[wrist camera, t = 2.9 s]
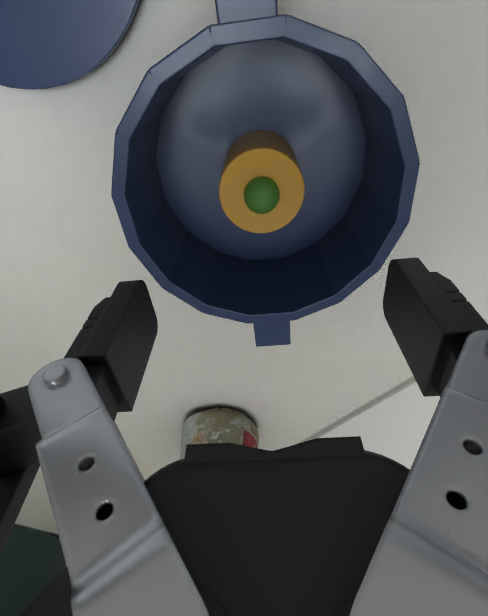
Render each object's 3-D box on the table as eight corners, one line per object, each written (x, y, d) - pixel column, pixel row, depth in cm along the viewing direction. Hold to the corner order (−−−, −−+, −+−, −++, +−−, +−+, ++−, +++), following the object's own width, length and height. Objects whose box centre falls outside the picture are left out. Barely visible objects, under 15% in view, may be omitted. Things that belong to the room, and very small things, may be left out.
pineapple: (295, 125, 22) (307, 148, 17) (297, 200, 25) (307, 238, 20) (219, 134, 22) (209, 159, 17) (229, 207, 25) (223, 246, 20)
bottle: (205, 392, 38) (137, 887, 16) (273, 420, 41) (298, 874, 19) (170, 430, 43) (80, 859, 20) (234, 454, 45) (216, 852, 23)
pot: (396, -65, 17) (473, -123, 11) (359, 283, 29) (386, 345, 23) (101, -19, 18) (28, -49, 12) (183, 297, 31) (166, 359, 25)
